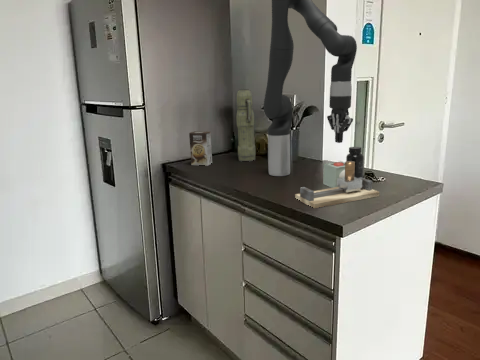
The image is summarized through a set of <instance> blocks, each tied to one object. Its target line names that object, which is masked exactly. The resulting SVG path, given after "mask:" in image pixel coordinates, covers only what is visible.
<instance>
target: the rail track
mask: <svg viewBox="0 0 480 360" xmlns="http://www.w3.org/2000/svg"><path fill="white" fill-rule="evenodd" d="M358 179H361V180H362V188H361V190H358V191H352V192H344V189H343V188H339V189H338V187H334V188H331V187H329V188H322V189H318V190H313V189H310V188H308V187H305V186H302V187H300V188H299V189H300V190H299V193H295V194H294V196H295V197H294V198H296V199H295V200H297V199H298V200H297V201H299V200H300V201H299V202H301V203H303V204H305V205H307V206H308V205H309V207H310V206H311V207H310V208H312V207H313V209H318V208H319V207H320V208H324V206H325V207H329V206H335V205H340V204H345V203H350V202H355V201H360V200H366V199H371V198H376V197H380V191H378V190H376V189H373V180H370V179H368V178H365V177H360V178H358Z"/></svg>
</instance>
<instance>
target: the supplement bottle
mask: <svg viewBox="0 0 480 360" xmlns="http://www.w3.org/2000/svg"><path fill="white" fill-rule="evenodd" d="M362 151H363V150H362V147H361V146H350V147H348V153H347V155H346V157H345V158H346V159H345V160H346V161H354V162H355V173H354V177H356V178H360V177H362V178H364V173H365V172H364V170H365V169H364V167H365V166H364V165H365V164H364V163H365V156H364V154H363V153H362ZM346 161H345V162H346Z"/></svg>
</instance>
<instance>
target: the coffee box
mask: <svg viewBox="0 0 480 360" xmlns="http://www.w3.org/2000/svg"><path fill="white" fill-rule="evenodd" d="M188 135H189V138H188V139H189V150H190V164H191V166H199V165H205V167H208V166H210V165H211V163H212V164H213V155H212V154H213V153H212V136H211V135H212V133H211V131H198V130H197V131H195V130H193V131H191V132H189V133H188Z"/></svg>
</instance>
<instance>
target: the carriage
mask: <svg viewBox="0 0 480 360" xmlns="http://www.w3.org/2000/svg"><path fill="white" fill-rule="evenodd" d="M354 173H355V162H354V161H345V177H342V178H337V186H338V189H339V188H343V189H344V192H352V191H358V190H361V188H362V180H361V179H358V178H356V177H354Z"/></svg>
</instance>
